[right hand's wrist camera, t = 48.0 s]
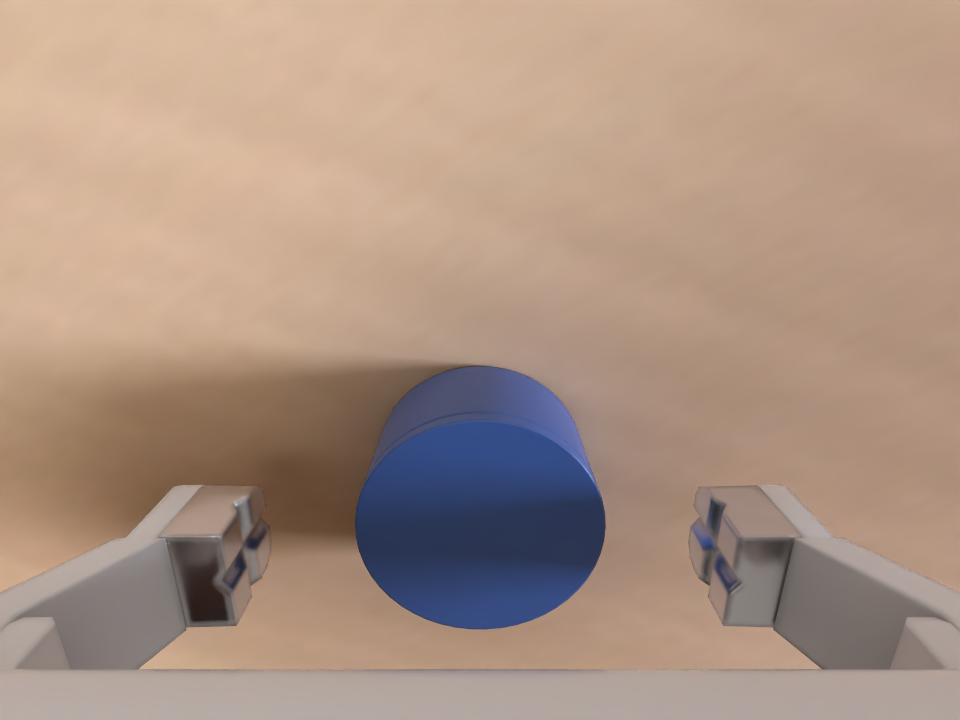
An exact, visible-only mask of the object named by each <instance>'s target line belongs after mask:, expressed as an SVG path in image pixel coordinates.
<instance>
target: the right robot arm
mask: <svg viewBox="0 0 960 720" xmlns="http://www.w3.org/2000/svg"><path fill="white" fill-rule="evenodd" d="M265 508H266V502H265V496H264V491H263V490H262V489H261V488H260V487H259V486H233V485H206V486H205V485H179V486H174V487H173V488H172V489H171V490H170V491H169V492H168V493H167V494H166V495H165V496H164V497H163V498H162V499H161V501H160V502H159V503H158V504H157V505H156V506H155V507H154V508H153V509H152V510H151V511H150V512H149V513H148V514H147V515H146V516H145V518H144V519H143V520H142V521H141V522H140V523H139V524H138V525H137V526H136V527H135V528H134V529H133V530H132V531H131V532H130V533H129V535H128V536H127V537H126V538H115V539H113V540H111V541H109V542H107V543H105V544H103V545H100V546H98V547H96V548H94V549H92V550H90V551H88V552H86V553H83V554H81V555H79V556H77V557H75V558H73V559H71V560H69V561H66V562H64V563H62V564H60V565H58V566H56V567H54V568H52V569H50V570H47V571H45V572H43V573H41V574H39V575H37V576H35V577H33V578H30V579H28V580H26V581H24V582H22V583H20V584H18V585H16V586H13V587H11V588H9V589H7V590H5V591H3V592H1V593H0V720H960V593H959V592H957V591H955V590H953V589H950V588H948V587H946V586H944V585H942V584H940V583H938V582H936V581H934V580H931V579H929V578H927V577H925V576H923V575H921V574H919V573H917V572H915V571H912V570H910V569H908V568H906V567H904V566H902V565H900V564H898V563H895V562H893V561H891V560H889V559H887V558H885V557H883V556H881V555H879V554H876V553H874V552H872V551H870V550H868V549H866V548H864V547H862V546H860V545H857V544H855V543H853V542H851V541H849V540H847V539H845V538H834V537H833V536H832V535H831V533H830V532H829V531H828V530H827V529H826V528H825V527H824V526H823V525H822V524H821V523H820V522H819V521H818V520H817V519H816V517H815V516H814V515H813V514H812V513H811V512H810V511H809V510H808V509H807V508H806V507H805V506H804V505H803V504H802V503H801V502H800V500H799V499H798V498H797V497H796V496H795V495H794V494H793V493H792V492H791V491H790V490H789V489H788V488H787V487H785V486H783V485H780V484H778V485H753V486H718V487H699V488H698V490H697V493H696V495H695V501H694V508H695V509H696V511H697V513H698V514H699V516H700V517H699V518H698V519H697V520H696V521H695V522H694V523H693V524H692V525H691V526H690V535H689V551H690V558H691V562H692V565H693V568H694V570H695V572H696V574H697V576H698V578H699V579H700V580H702V581H703V582H705V583H706V584H708V585H709V586H710V588H709V594H708V598H709V599H710V601H711V603H712V605H713V607H714V609H715V611H716V613H717V615H718V616H719V618H720V620H721V622H722V624H723V626H747V627H774V630H775V631H776V632H777V633H778V634H780V635H781V636H782V637H783V638H785V639H786V640H787V641H788V642H789V643H791V644H792V645H793V646H794V647H796V648H797V649H798V650H799V651H801V652H802V653H803V654H804V655H805V656H807V657H808V658H809V659H810V660H812V661H813V662H814V663H815V664H817V665H818V666H819V667H820V668H821V669H823V670H175V669H139V668H140V667H141V666H142V665H144V664H145V663H146V662H147V661H149V660H150V659H151V658H152V657H153V656H155V655H156V654H157V653H158V652H160V651H161V650H162V649H163V648H165V647H166V646H167V645H168V644H170V643H171V642H172V641H173V640H174V639H176V638H177V637H178V636H179V635H181V634H182V633H183V632H184V631H186V627H212V626H237V624H238V622H239V620H240V618H241V617H242V615H243V613H244V611H245V609H246V607H247V605H248V603H249V601H250V599H251V598H252V594H251V588H250V586H251V585H252V584H254V583H255V582H257V581H258V580H260V579H261V578H262V576H263V574H264V572H265V570H266V568H267V566H268V561H269V557H270V552H271V533H270V526H269V525H268V524H267V523H266V522H265V521H264V520H263V519H262V518H261V517H260V516H261V514H262V513H263V511H264V509H265Z"/></svg>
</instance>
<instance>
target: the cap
mask: <svg viewBox="0 0 960 720" xmlns="http://www.w3.org/2000/svg"><path fill="white" fill-rule="evenodd" d="M605 527H606V526H605V511H604V506H603V501H602V498H601V495H600V492H599V489H598V486H597V484H596V481H595V478H594V475H593V472H592V470H591V467H590V464H589V461H588V458H587V456H586V453H585V450H584V447H583V445H582V442H581V439H580V436H579V433H578V431H577V428H576V425H575V423H574V421H573V419H572V417H571V415H570V413H569V412H568V410H567V409H566V407H565V406H564V405H563V403H562V402H561V401H560V400H559V399H558V398H557V397H556V396H555V395H554V394H553V393H552V392H551V391H550V390H548V389H547V388H546V387H544V386H543V385H542V384H540V383H538V382H537V381H535V380H533V379H531V378H530V377H527V376H525V375H522V374H520V373H518V372H514V371H511V370H507V369H503V368H496V367H489V366H473V367H463V368H458V369H454V370H449V371H446V372H443V373H440V374H438V375H435V376H433V377H431V378H429V379H427V380H425V381H423V382H422V383H420V384H419V385H417V386H416V387H415V388H413V389H412V390H411V391H410V392H408V393H407V394H406V395H405V396H404V397H403V398H402V399H401V400H400V402H399V403H398V404H397V405H396V406H395V408H394V409H393V411H392V412H391V414H390V416H389V417H388V419H387V421H386V424H385V426H384V429H383V431H382V434H381V437H380V440H379V442H378V445H377V448H376V451H375V454H374V456H373V459H372V462H371V465H370V468H369V471H368V473H367V476H366V479H365V482H364V485H363V488H362V490H361V493H360V496H359V500H358V504H357V508H356V517H355V531H356V540H357V544H358V548H359V552H360V554H361V557H362V559H363V562H364V564H365V566H366V568H367V570H368V571H369V573H370V575H371V576H372V578H373V579H374V580H375V582H376V583H377V584H378V585H379V587H380V588H381V589H382V590H383V591H384V592H385V593H386V594H387V595H388V596H389V597H390V598H392V599H393V600H394V601H396V602H397V603H398V604H399V605H401V606H402V607H404V608H406V609H407V610H409V611H411V612H412V613H414V614H416V615H418V616H420V617H423V618H425V619H427V620H430V621H433V622H436V623H439V624H443V625H447V626H452V627H456V628H465V629H495V628H503V627H509V626H514V625H518V624H521V623H524V622H528V621H531V620H533V619H535V618H538V617H540V616H542V615H544V614H546V613H548V612H550V611H552V610H553V609H555V608H557V607H558V606H560V605H561V604H562V603H564V602H565V601H566V600H568V599H569V598H570V597H571V596H572V595H573V594H574V593H575V592H576V591H577V590H579V588H580V587H581V586H582V585H583V583H584V582H585V581H586V580H587V579H588V577H589V575H590V574H591V572H592V570H593V569H594V567H595V565H596V563H597V561H598V558H599V556H600V553H601V550H602V546H603V542H604V536H605Z"/></svg>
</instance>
